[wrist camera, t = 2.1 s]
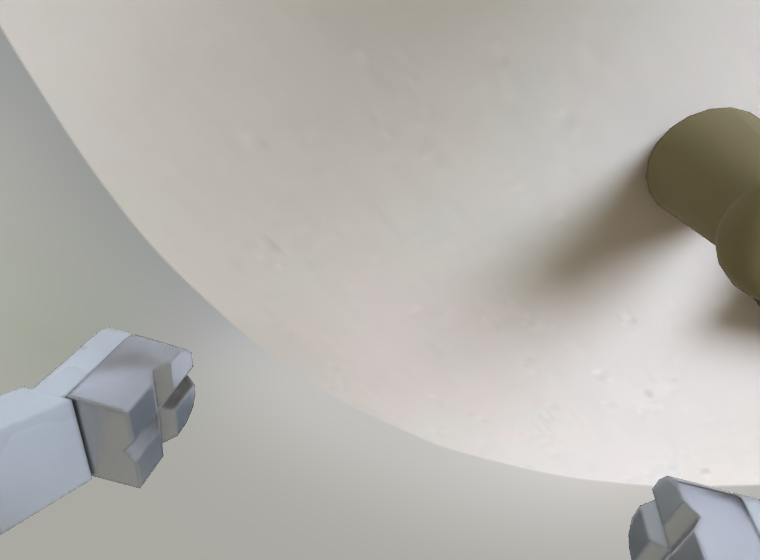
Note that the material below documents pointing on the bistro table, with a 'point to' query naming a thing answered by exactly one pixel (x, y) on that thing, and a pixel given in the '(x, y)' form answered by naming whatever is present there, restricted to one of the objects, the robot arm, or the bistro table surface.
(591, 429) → the bistro table surface
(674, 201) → the olive pawn
